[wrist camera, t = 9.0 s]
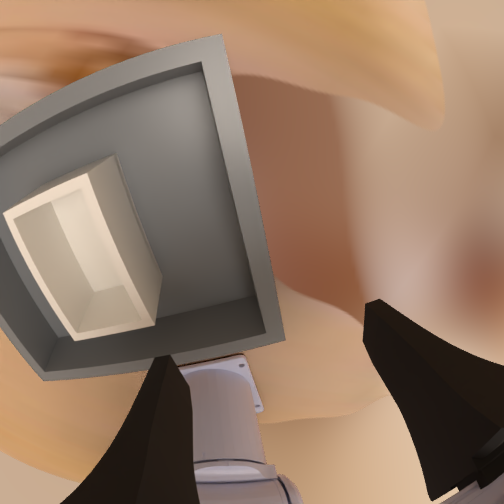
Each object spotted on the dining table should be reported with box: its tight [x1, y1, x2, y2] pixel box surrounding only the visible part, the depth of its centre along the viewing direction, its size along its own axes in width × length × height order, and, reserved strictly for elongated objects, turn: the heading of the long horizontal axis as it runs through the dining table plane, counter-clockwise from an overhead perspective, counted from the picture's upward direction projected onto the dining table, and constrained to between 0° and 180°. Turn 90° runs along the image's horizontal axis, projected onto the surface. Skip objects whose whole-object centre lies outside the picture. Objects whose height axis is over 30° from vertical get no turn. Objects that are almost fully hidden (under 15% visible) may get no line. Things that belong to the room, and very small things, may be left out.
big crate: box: [0, 34, 286, 381], centre depth 15 cm, size 16×18×4 cm
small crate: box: [3, 153, 163, 341], centre depth 14 cm, size 8×5×4 cm, turn 12°
